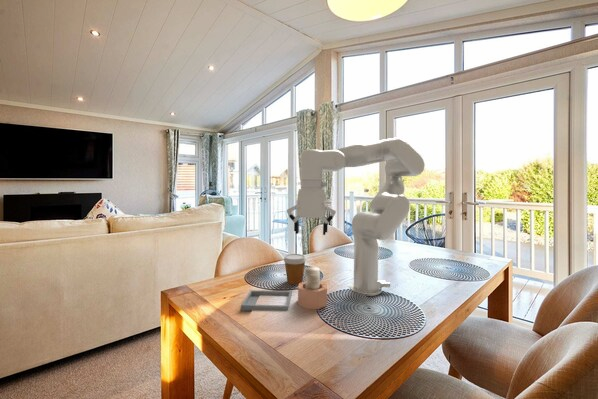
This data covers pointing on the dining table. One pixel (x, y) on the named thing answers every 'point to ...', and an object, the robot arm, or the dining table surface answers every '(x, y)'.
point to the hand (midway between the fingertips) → (310, 233)
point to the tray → (252, 299)
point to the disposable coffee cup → (294, 268)
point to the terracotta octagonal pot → (312, 296)
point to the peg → (312, 278)
